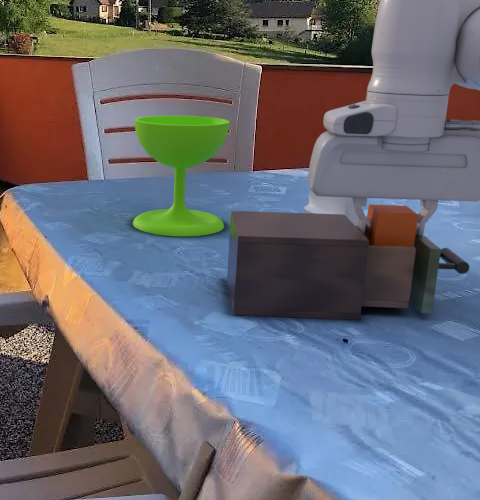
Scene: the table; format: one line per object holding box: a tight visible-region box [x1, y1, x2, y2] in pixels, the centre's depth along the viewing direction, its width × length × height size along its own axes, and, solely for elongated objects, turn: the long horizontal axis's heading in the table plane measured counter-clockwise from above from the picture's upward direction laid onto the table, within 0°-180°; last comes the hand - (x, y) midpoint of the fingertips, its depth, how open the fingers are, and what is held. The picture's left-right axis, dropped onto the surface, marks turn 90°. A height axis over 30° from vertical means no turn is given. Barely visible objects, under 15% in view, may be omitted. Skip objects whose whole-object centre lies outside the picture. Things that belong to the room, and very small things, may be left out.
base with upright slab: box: [303, 189, 358, 226], centre depth 110 cm, size 9×9×12 cm
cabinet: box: [226, 210, 369, 321], centre depth 87 cm, size 15×13×10 cm
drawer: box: [355, 225, 470, 314], centre depth 86 cm, size 18×11×8 cm, turn 86°
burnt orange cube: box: [365, 203, 419, 247], centre depth 85 cm, size 5×5×5 cm
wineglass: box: [132, 115, 231, 237], centre depth 121 cm, size 16×16×18 cm
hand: (389, 234), depth 85 cm, fingers closed on burnt orange cube, 4 cm apart
